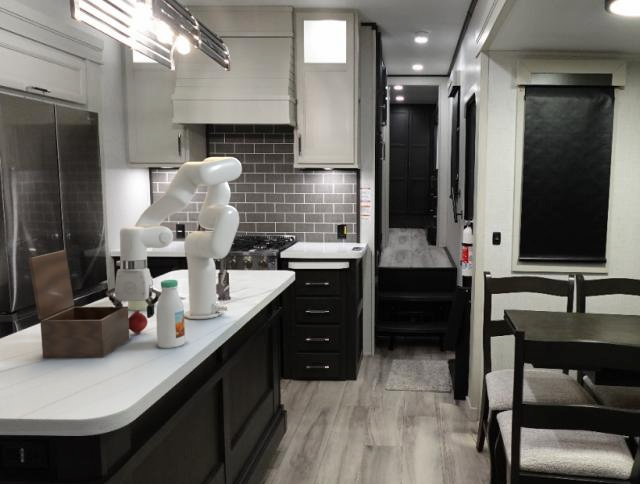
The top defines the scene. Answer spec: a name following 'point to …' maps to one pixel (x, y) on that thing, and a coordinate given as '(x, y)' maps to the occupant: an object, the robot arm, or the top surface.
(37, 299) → the bin lid
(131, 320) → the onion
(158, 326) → the milk bottle
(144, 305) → the can
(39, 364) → the top surface
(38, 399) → the top surface
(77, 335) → the bin
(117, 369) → the top surface
